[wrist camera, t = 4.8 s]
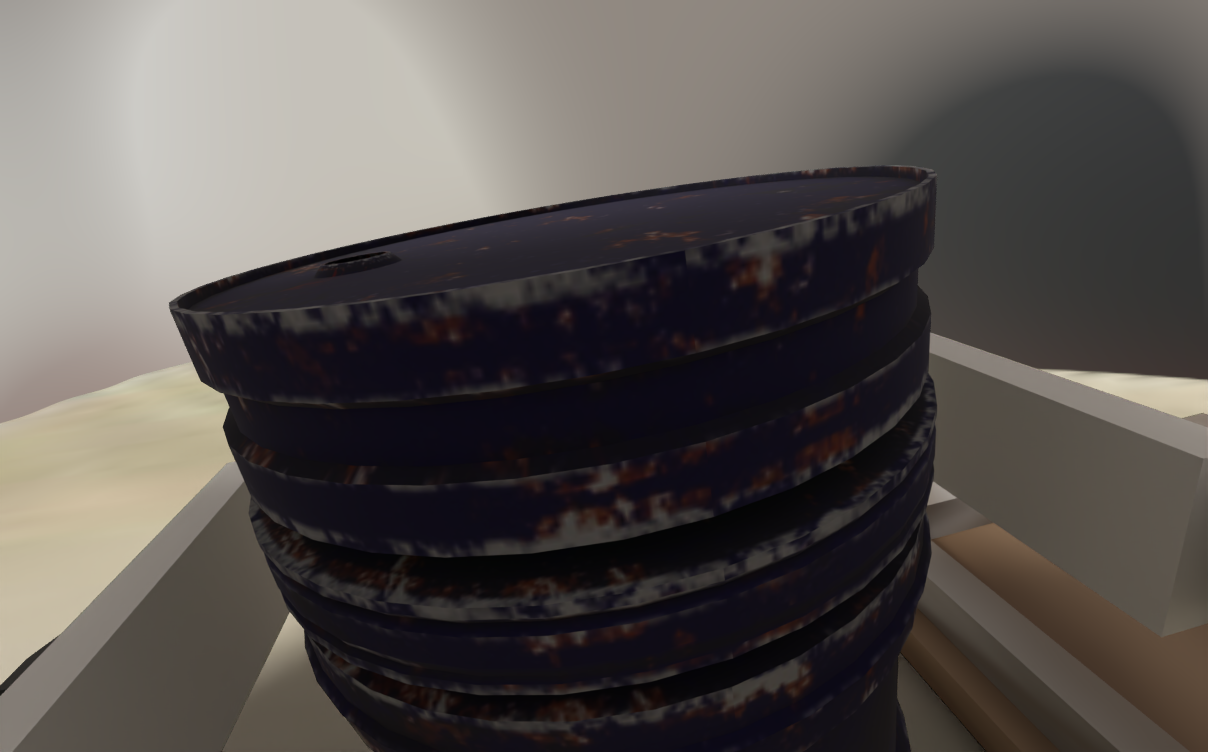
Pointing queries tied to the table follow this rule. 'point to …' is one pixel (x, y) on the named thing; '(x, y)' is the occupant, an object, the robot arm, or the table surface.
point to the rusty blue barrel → (599, 465)
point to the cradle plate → (1047, 650)
